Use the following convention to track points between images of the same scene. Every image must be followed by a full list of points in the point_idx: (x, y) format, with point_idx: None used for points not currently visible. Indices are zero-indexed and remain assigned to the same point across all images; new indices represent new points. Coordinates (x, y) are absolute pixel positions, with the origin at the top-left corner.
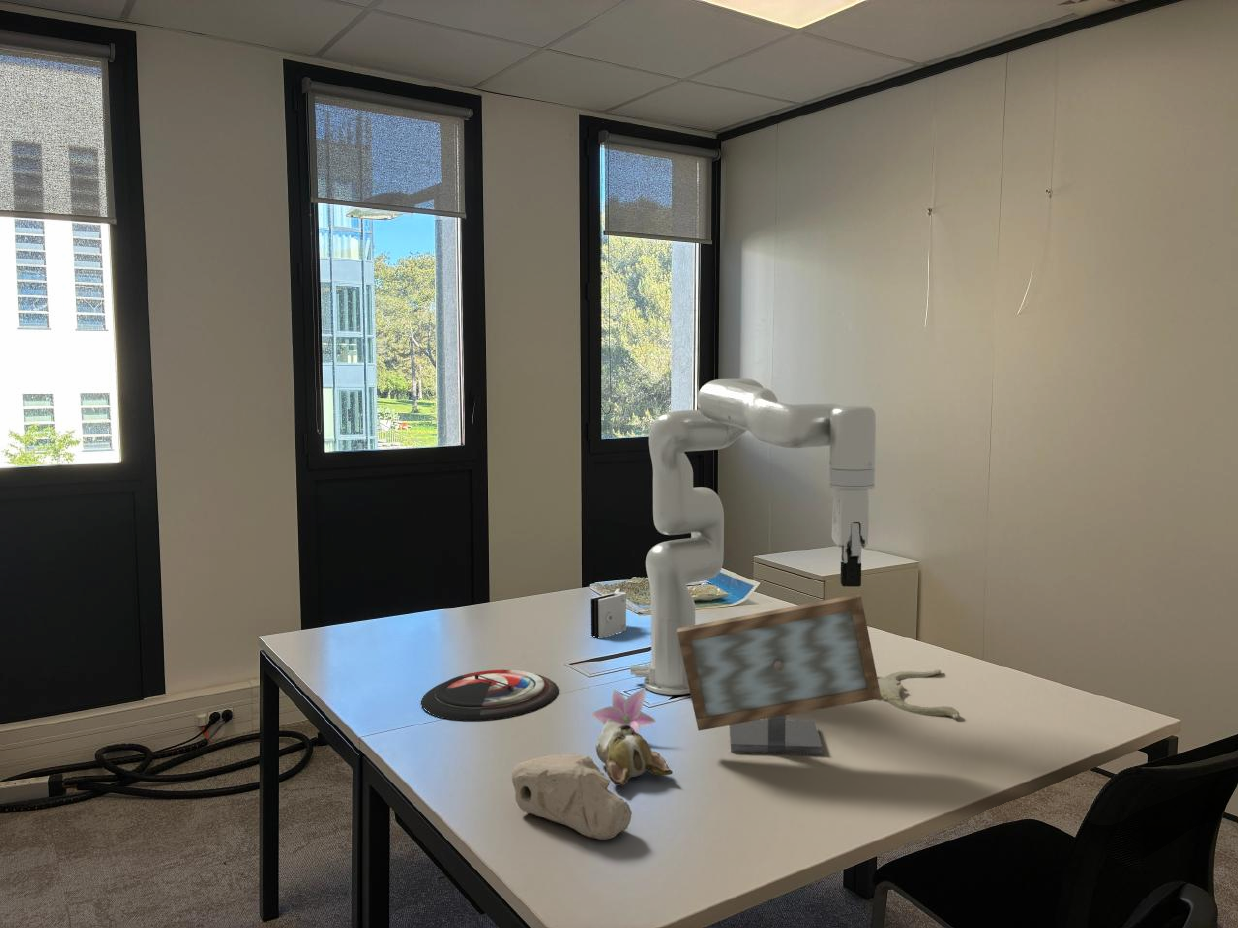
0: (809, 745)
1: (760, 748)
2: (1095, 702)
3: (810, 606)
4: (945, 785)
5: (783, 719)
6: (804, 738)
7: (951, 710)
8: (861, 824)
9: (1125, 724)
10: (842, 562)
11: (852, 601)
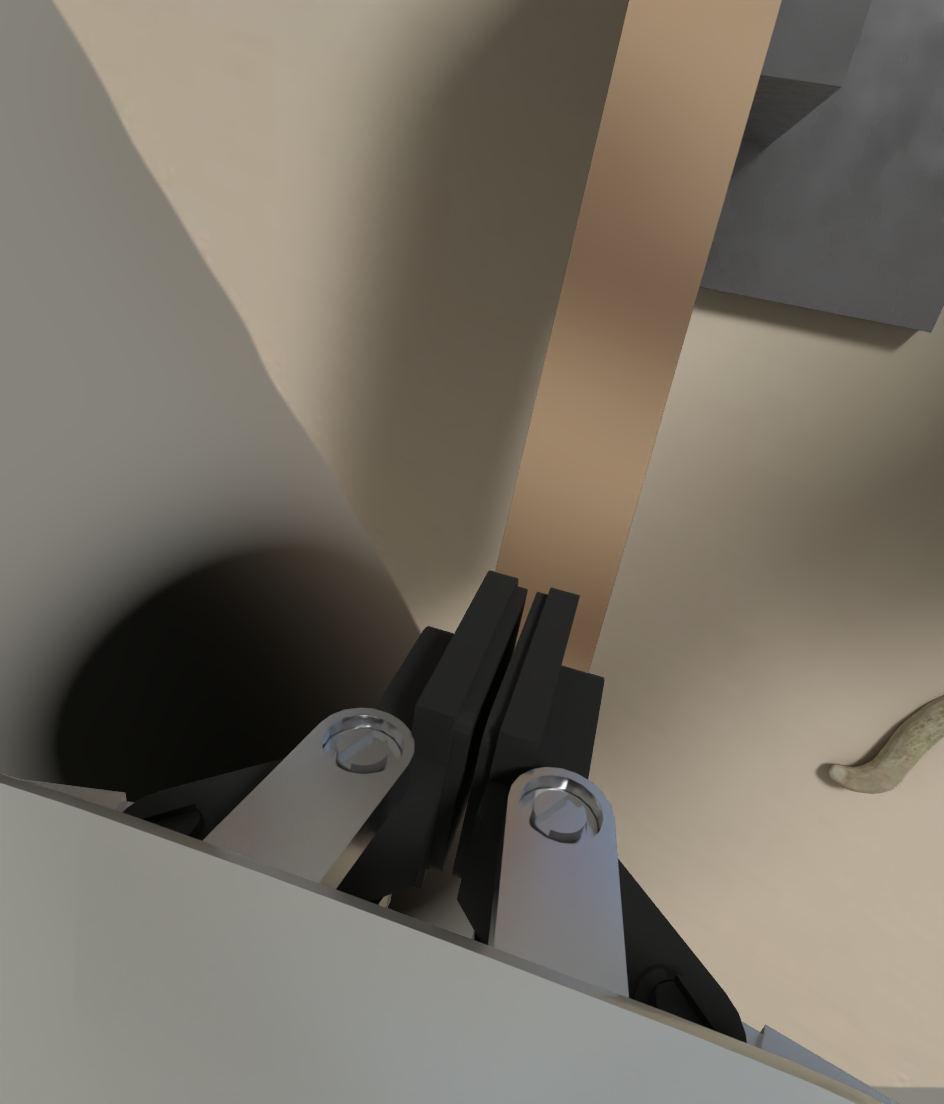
0: None
1: None
2: (836, 1066)
3: (589, 227)
4: (444, 533)
5: None
6: (773, 238)
7: (865, 780)
8: (257, 246)
9: None
10: (496, 740)
11: None
